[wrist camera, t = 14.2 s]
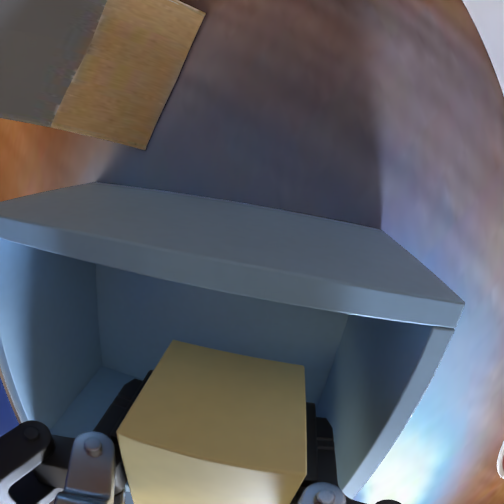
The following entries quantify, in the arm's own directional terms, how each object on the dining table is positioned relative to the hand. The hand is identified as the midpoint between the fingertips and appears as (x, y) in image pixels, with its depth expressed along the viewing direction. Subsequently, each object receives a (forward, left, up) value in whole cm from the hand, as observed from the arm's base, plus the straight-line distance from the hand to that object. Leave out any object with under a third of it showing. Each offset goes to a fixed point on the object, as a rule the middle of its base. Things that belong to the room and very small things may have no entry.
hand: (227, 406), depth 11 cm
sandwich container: (-13, +14, -7) cm, 20 cm away
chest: (-2, 0, -7) cm, 7 cm away
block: (0, 0, 0) cm, 0 cm away
